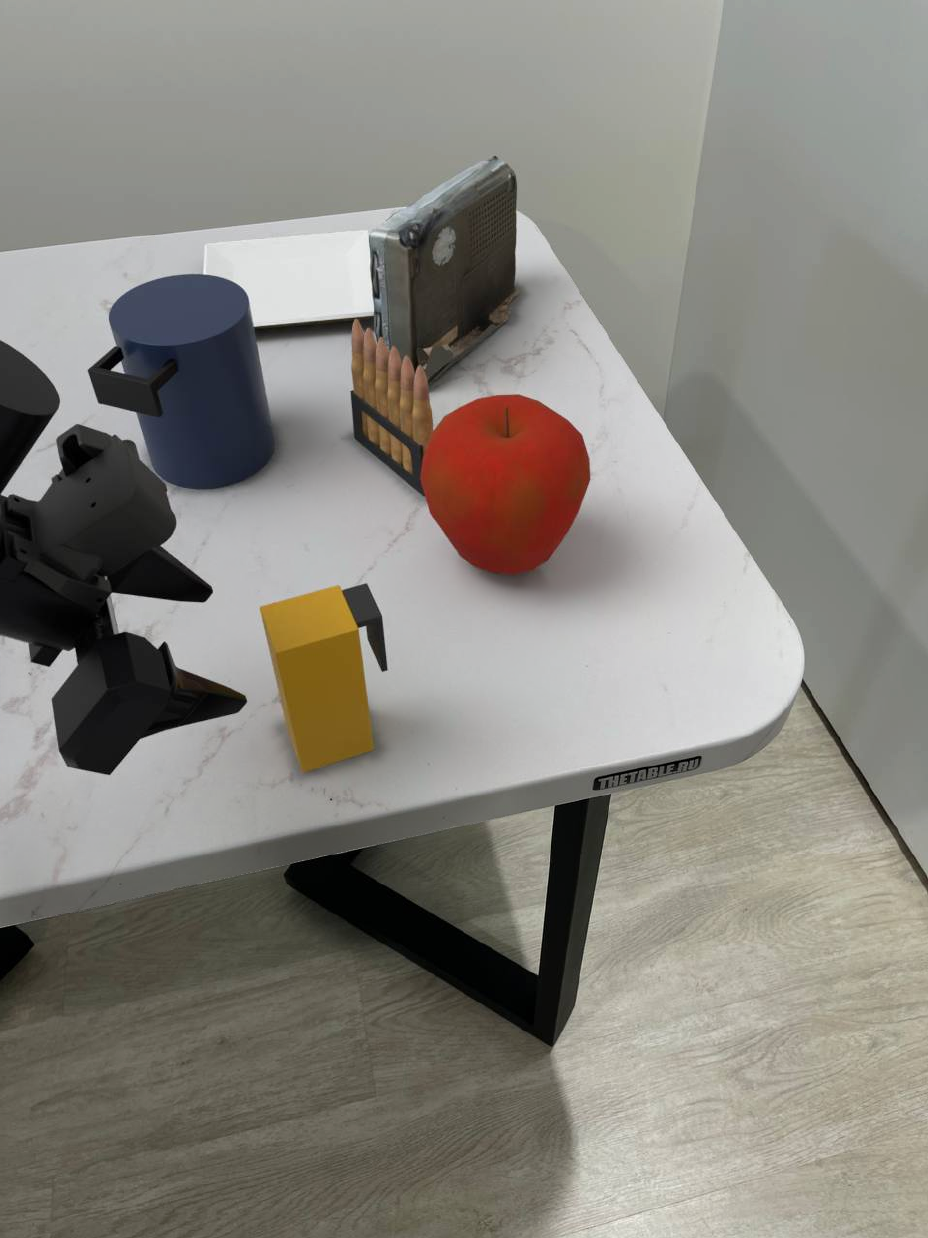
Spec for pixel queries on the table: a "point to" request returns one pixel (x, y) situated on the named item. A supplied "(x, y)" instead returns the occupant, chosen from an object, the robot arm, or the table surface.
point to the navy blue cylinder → (190, 379)
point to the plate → (298, 276)
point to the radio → (447, 268)
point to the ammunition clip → (390, 406)
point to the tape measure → (325, 670)
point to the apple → (505, 481)
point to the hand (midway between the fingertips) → (225, 647)
